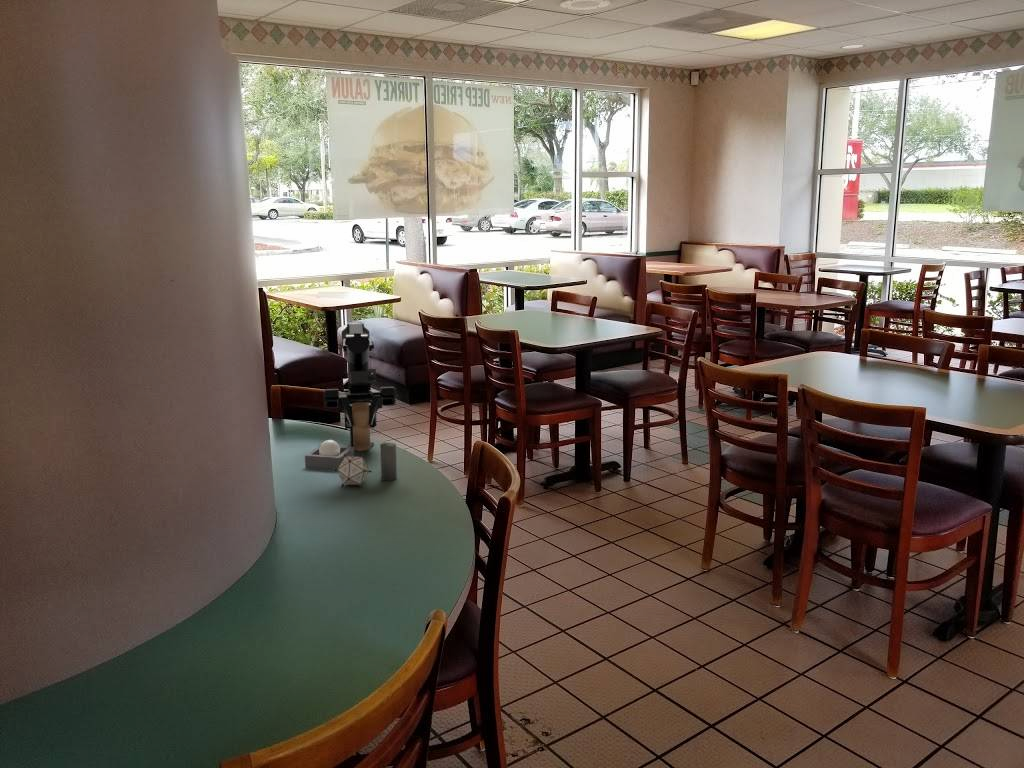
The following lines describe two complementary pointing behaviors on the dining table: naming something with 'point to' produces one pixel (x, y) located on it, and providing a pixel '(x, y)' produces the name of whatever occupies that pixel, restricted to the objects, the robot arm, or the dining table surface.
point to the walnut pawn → (361, 426)
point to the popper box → (327, 458)
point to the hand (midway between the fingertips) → (361, 425)
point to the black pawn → (388, 461)
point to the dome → (329, 448)
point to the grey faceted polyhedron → (353, 470)
